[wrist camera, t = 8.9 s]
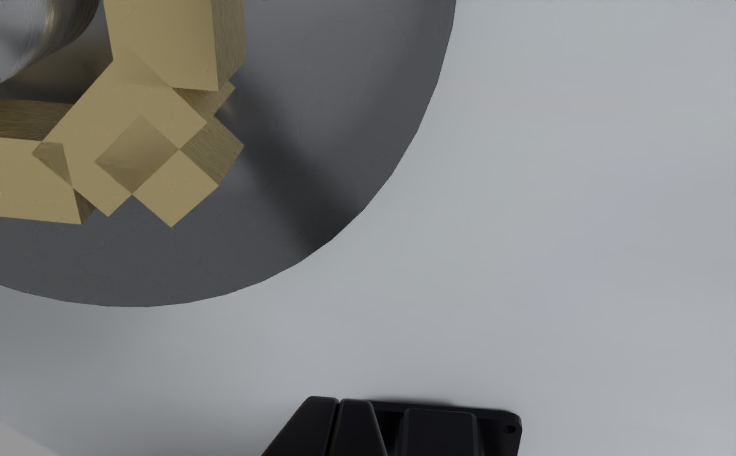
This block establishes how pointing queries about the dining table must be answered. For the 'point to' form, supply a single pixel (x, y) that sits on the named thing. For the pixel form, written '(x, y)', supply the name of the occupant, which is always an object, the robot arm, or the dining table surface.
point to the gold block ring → (131, 119)
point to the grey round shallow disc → (250, 126)
